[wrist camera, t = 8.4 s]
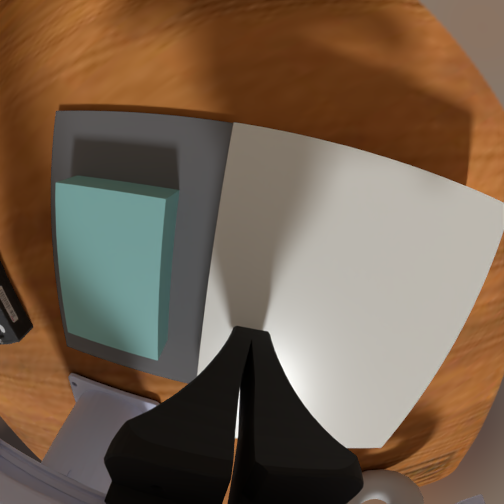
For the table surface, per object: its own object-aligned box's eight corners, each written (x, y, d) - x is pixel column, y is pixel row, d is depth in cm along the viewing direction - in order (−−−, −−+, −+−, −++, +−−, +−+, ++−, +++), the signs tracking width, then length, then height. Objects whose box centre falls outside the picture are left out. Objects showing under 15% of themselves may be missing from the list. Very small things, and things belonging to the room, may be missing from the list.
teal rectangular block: (68, 332, 16) (83, 315, 18) (157, 360, 16) (167, 339, 18) (55, 182, 13) (77, 175, 14) (165, 199, 13) (179, 190, 14)
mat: (196, 382, 19) (195, 385, 19) (69, 343, 19) (67, 346, 19) (233, 123, 13) (233, 123, 13) (59, 110, 13) (56, 110, 13)
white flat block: (370, 404, 19) (381, 447, 16) (204, 383, 19) (192, 429, 16) (466, 187, 13) (510, 206, 10) (244, 125, 13) (233, 122, 10)
